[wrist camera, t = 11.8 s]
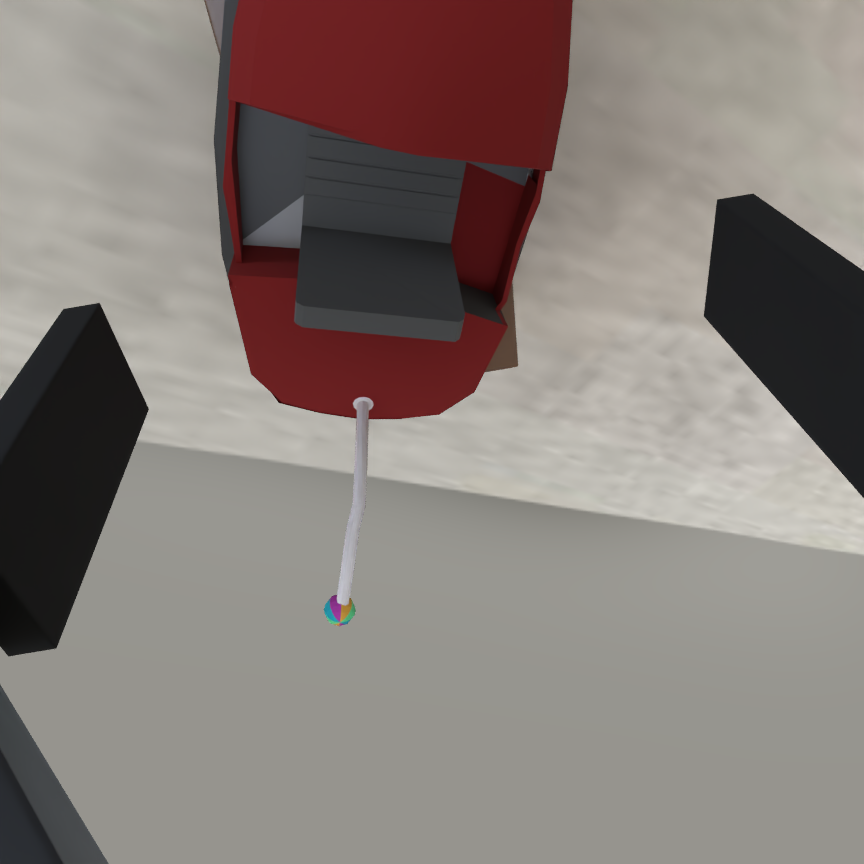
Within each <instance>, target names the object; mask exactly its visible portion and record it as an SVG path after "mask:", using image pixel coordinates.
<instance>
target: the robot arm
mask: <svg viewBox="0 0 864 864" xmlns="http://www.w3.org/2000/svg"><path fill="white" fill-rule="evenodd" d="M704 317H705V318H706V319H707V320H708V321H709V323H710V324H711V325H712V326H713V327H714V328H715V329H716V331H717V332H718V333H719V334H720V335H721V336H722V337H723V338H724V340H725V341H726V342H727V343H728V344H729V345H730V346H731V348H732V349H733V350H734V351H735V352H736V353H737V354H738V356H739V357H740V358H741V359H742V360H743V361H744V362H745V363H746V365H747V366H748V367H749V368H750V369H751V370H752V371H753V373H754V374H755V375H756V376H757V377H758V378H759V379H760V381H761V382H762V383H763V384H764V385H765V386H766V387H767V388H768V390H769V391H770V392H771V393H772V394H773V395H774V396H775V398H776V399H777V400H778V401H779V402H780V403H781V404H782V406H783V407H784V408H785V409H786V410H787V411H788V412H789V414H790V415H791V416H792V417H793V418H794V419H795V420H796V421H797V423H798V424H799V425H800V426H801V427H802V428H803V429H804V431H805V432H806V433H807V434H808V435H809V436H810V437H811V439H812V440H813V441H814V442H815V443H816V444H817V445H818V446H819V448H820V449H821V450H822V451H823V452H824V453H825V454H826V456H827V457H828V458H829V459H830V460H831V461H832V462H833V464H834V465H835V466H836V467H837V468H838V469H839V470H840V472H841V473H842V474H843V475H844V476H845V477H846V478H847V479H848V481H849V482H850V483H851V484H852V485H853V486H854V487H855V489H856V490H857V491H858V492H859V493H860V494H861V495H862V497H863V498H864V271H863V270H861V269H860V268H859V267H857V266H856V265H854V264H853V263H851V262H850V261H849V260H847V259H846V258H844V257H843V256H841V255H840V254H839V253H837V252H836V251H834V250H833V249H831V248H830V247H829V246H827V245H826V244H824V243H823V242H821V241H820V240H819V239H817V238H816V237H814V236H813V235H811V234H810V233H809V232H807V231H806V230H804V229H803V228H801V227H800V226H799V225H797V224H796V223H794V222H793V221H792V220H790V219H789V218H787V217H786V216H784V215H783V214H782V213H780V212H779V211H777V210H776V209H774V208H773V207H772V206H770V205H769V204H767V203H766V202H764V201H763V200H762V199H760V198H759V197H757V196H756V195H754V194H748V195H742V196H736V197H730V198H724V199H718V200H717V206H716V215H715V224H714V232H713V241H712V250H711V258H710V267H709V276H708V285H707V293H706V302H705V311H704ZM148 410H149V409H148V406H147V404H146V402H145V400H144V398H143V396H142V393H141V391H140V389H139V387H138V385H137V383H136V381H135V378H134V376H133V374H132V372H131V370H130V368H129V365H128V363H127V361H126V359H125V357H124V355H123V353H122V350H121V348H120V346H119V344H118V342H117V340H116V337H115V335H114V333H113V331H112V329H111V327H110V325H109V322H108V320H107V318H106V316H105V314H104V312H103V309H102V307H101V305H100V303H97V304H91V305H85V306H79V307H73V308H67V309H63V311H62V312H61V313H60V315H59V316H58V318H57V319H56V321H55V322H54V324H53V325H52V326H51V328H50V329H49V331H48V332H47V334H46V335H45V337H44V338H43V339H42V341H41V342H40V344H39V345H38V347H37V348H36V349H35V351H34V352H33V354H32V355H31V357H30V358H29V360H28V361H27V362H26V364H25V365H24V367H23V368H22V370H21V371H20V373H19V374H18V375H17V377H16V378H15V380H14V381H13V383H12V384H11V386H10V387H9V388H8V390H7V391H6V393H5V394H4V396H3V397H2V398H1V400H0V647H1V648H2V649H3V650H4V651H5V653H6V654H7V655H8V656H13V655H19V654H25V653H31V652H37V651H43V650H49V649H54V648H57V645H58V643H59V640H60V638H61V635H62V632H63V630H64V627H65V625H66V622H67V619H68V617H69V614H70V612H71V609H72V606H73V604H74V601H75V599H76V596H77V594H78V591H79V588H80V586H81V583H82V580H83V578H84V575H85V573H86V570H87V568H88V565H89V562H90V560H91V557H92V555H93V552H94V550H95V547H96V544H97V542H98V539H99V536H100V534H101V532H102V529H103V526H104V524H105V521H106V519H107V516H108V513H109V510H110V508H111V506H112V503H113V500H114V498H115V495H116V493H117V490H118V487H119V485H120V482H121V480H122V477H123V475H124V472H125V469H126V467H127V464H128V462H129V459H130V456H131V454H132V451H133V449H134V446H135V444H136V441H137V438H138V436H139V433H140V431H141V428H142V425H143V423H144V420H145V418H146V415H147V412H148ZM0 864H108V862H107V861H106V859H105V857H104V856H103V854H102V852H101V851H100V849H99V847H98V846H97V844H96V842H95V841H94V839H93V837H92V836H91V834H90V832H89V831H88V829H87V827H86V826H85V824H84V822H83V821H82V819H81V817H80V816H79V814H78V813H77V811H76V809H75V808H74V806H73V804H72V803H71V801H70V799H69V798H68V796H67V794H66V793H65V791H64V789H63V788H62V786H61V784H60V783H59V781H58V779H57V778H56V776H55V775H54V773H53V771H52V770H51V768H50V767H49V765H48V763H47V761H46V760H45V758H44V756H43V755H42V753H41V751H40V750H39V748H38V747H37V745H36V743H35V741H34V740H33V738H32V736H31V735H30V733H29V732H28V730H27V728H26V727H25V725H24V723H23V722H22V720H21V718H20V717H19V715H18V713H17V712H16V710H15V708H14V707H13V705H12V703H11V702H10V700H9V698H8V697H7V695H6V693H5V692H4V690H3V688H2V687H1V685H0Z"/></svg>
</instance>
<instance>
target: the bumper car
mask: <svg viewBox="0 0 864 864" xmlns="http://www.w3.org/2000/svg"><path fill="white" fill-rule="evenodd" d="M572 2H573V0H225V2H224V15H223V28H222V41H221V54H220V67H219V80H218V93H217V106H216V119H215V132H214V148H215V162H216V176H217V190H218V205H219V219H220V233H221V247H222V256H223V260H224V264H225V268H226V272H227V276H228V280H229V285H230V290H231V294H232V298H233V302H234V306H235V310H236V314H237V318H238V322H239V326H240V330H241V335H242V339H243V343H244V347H245V351H246V355H247V359H248V363H249V367H250V371H251V374H252V375H253V376H254V377H255V378H256V379H257V380H258V381H259V382H260V383H262V384H263V385H264V386H265V387H266V388H267V389H268V390H269V391H270V392H271V393H272V394H273V395H274V397H275V398H276V399H277V401H278V402H279V403H282V404H286V405H290V406H294V407H298V408H302V409H306V410H310V411H314V412H318V413H324V414H330V415H337V416H344V417H350V418H357V423H356V447H355V470H354V489H353V504H352V508H351V512H350V516H349V520H348V524H347V528H346V535H345V542H344V550H343V557H342V565H341V572H340V579H339V586H338V593H337V595H334V596H332V597H331V598H330V599H329V601H328V602H327V603H326V605H325V608H324V611H325V615H326V617H327V619H328V621H329V622H330V623H331V624H334V625H337V626H341V625H345V624H348V622H349V621H350V620H351V619H352V617H353V616H354V615H355V607H354V604H353V602H352V600H351V598H350V591H351V585H352V578H353V572H354V565H355V557H356V550H357V542H358V535H359V530H360V526H361V522H362V518H363V514H364V509H365V504H366V503H365V502H366V483H367V457H368V419H402V418H411V417H420V416H430V415H439V414H441V413H442V412H444V411H445V410H447V409H449V408H450V407H452V406H453V405H455V404H456V403H458V402H459V401H461V400H463V399H464V398H466V397H467V396H469V395H470V394H472V393H474V392H475V390H476V388H477V386H478V384H479V382H480V380H481V378H482V376H483V374H484V372H485V370H486V369H487V367H488V365H489V363H490V361H491V359H492V357H493V355H494V353H495V351H496V349H497V347H498V345H499V343H500V341H501V340H502V338H503V336H504V334H505V332H506V330H507V328H508V325H507V323H506V321H505V318H504V316H503V314H502V311H501V309H502V308H503V306H504V305H505V303H506V302H507V299H508V295H509V292H510V288H511V284H512V280H513V276H514V272H515V269H516V266H517V263H518V260H519V257H520V254H521V251H522V248H523V245H524V241H525V238H526V235H527V232H528V229H529V226H530V224H531V222H532V219H533V217H534V215H535V212H536V210H537V208H538V205H539V203H540V199H541V193H542V188H543V183H544V177H545V172H546V171H552V165H553V160H554V155H555V150H556V145H557V139H558V134H559V129H560V124H561V119H562V113H563V108H564V103H565V98H566V93H567V87H568V73H569V55H570V37H571V20H572Z"/></svg>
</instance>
